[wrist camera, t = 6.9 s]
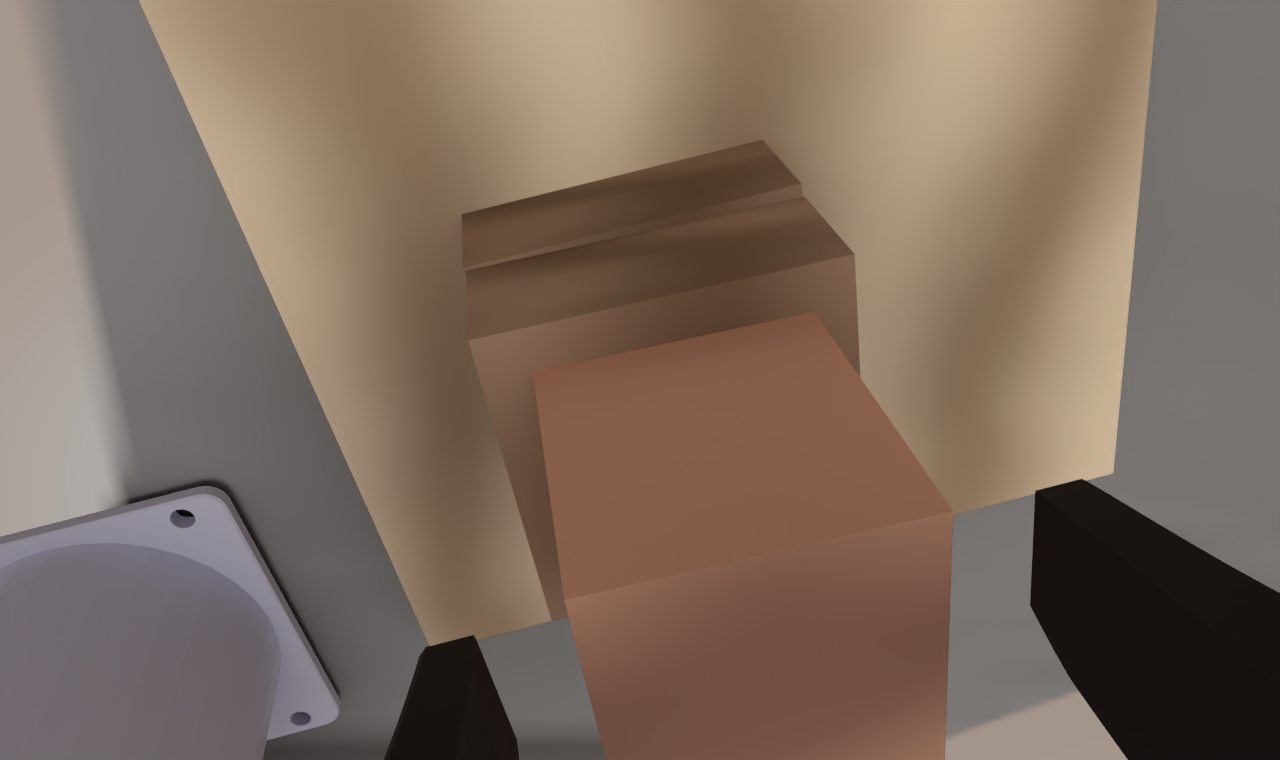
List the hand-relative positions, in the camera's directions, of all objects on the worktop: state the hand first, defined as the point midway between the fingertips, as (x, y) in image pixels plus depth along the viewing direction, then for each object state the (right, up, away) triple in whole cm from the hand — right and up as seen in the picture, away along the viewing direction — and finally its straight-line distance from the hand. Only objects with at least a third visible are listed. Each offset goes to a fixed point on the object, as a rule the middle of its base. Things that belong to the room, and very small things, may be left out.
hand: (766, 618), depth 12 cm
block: (-1, +2, +4) cm, 4 cm away
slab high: (-1, +3, +6) cm, 7 cm away
